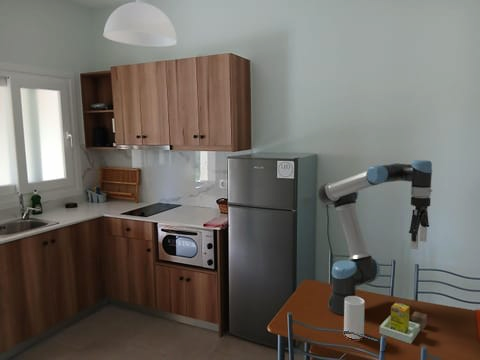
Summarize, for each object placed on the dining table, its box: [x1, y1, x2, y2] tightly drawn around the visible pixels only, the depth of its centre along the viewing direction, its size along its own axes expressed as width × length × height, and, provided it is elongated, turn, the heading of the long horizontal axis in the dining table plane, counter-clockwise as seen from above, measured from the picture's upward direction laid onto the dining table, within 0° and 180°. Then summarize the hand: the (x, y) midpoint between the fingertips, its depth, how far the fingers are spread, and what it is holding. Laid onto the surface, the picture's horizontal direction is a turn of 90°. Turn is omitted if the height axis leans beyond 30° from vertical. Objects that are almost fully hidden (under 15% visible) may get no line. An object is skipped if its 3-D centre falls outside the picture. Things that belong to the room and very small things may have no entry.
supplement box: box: [390, 302, 411, 333], centre depth 156 cm, size 6×6×11 cm
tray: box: [379, 314, 421, 345], centre depth 157 cm, size 13×13×3 cm
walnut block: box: [411, 311, 428, 330], centre depth 162 cm, size 5×5×5 cm
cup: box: [343, 295, 365, 339], centre depth 155 cm, size 8×8×16 cm
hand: (418, 244), depth 155 cm, fingers open, 13 cm apart
